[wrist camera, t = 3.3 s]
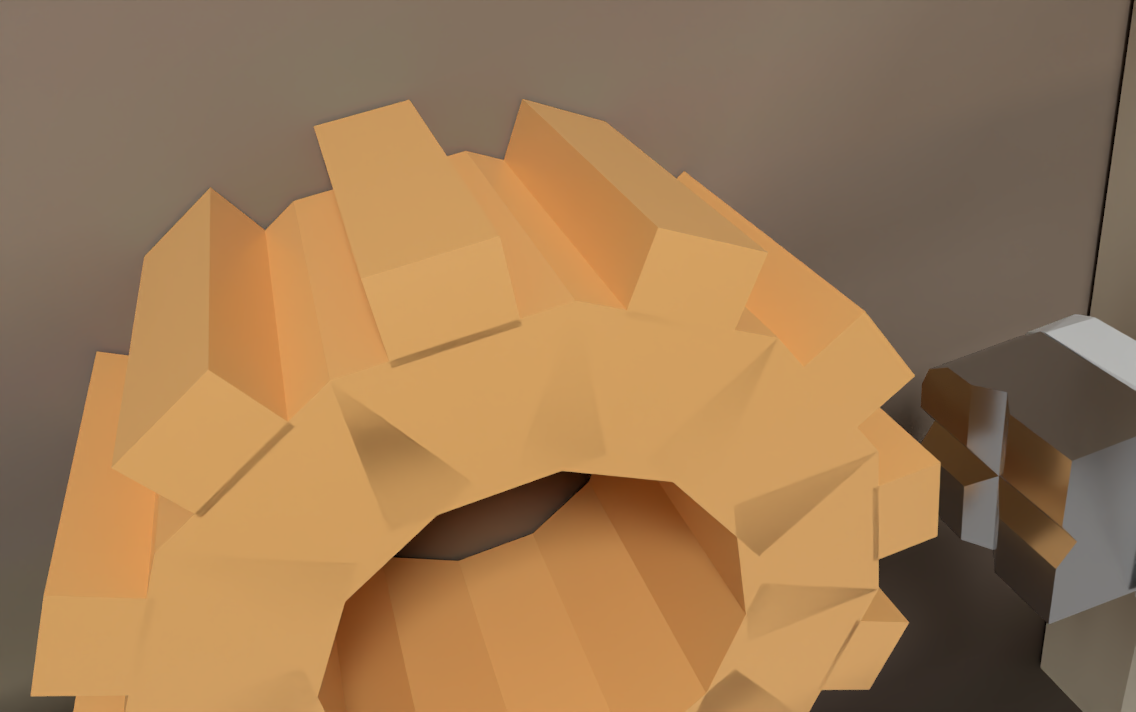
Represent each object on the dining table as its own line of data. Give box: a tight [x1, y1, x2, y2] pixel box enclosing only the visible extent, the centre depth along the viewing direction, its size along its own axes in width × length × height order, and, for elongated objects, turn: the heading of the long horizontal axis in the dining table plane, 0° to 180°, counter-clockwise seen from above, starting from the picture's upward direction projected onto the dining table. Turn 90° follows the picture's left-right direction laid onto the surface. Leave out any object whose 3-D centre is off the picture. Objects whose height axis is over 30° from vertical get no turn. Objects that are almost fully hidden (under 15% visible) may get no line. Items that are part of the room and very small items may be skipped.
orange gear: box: [31, 99, 941, 712], centre depth 8 cm, size 7×7×3 cm
